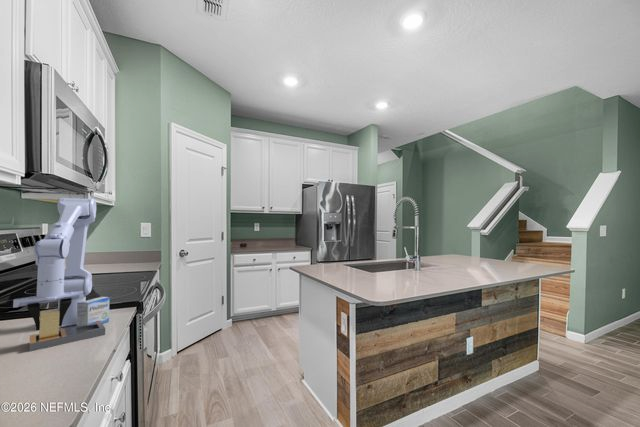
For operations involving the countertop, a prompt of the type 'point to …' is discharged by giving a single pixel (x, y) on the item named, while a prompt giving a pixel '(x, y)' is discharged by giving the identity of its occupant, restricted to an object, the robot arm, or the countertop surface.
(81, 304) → the medicine box
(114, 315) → the countertop surface
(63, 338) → the rail
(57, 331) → the peg
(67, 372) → the countertop surface
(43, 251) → the robot arm
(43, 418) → the countertop surface
